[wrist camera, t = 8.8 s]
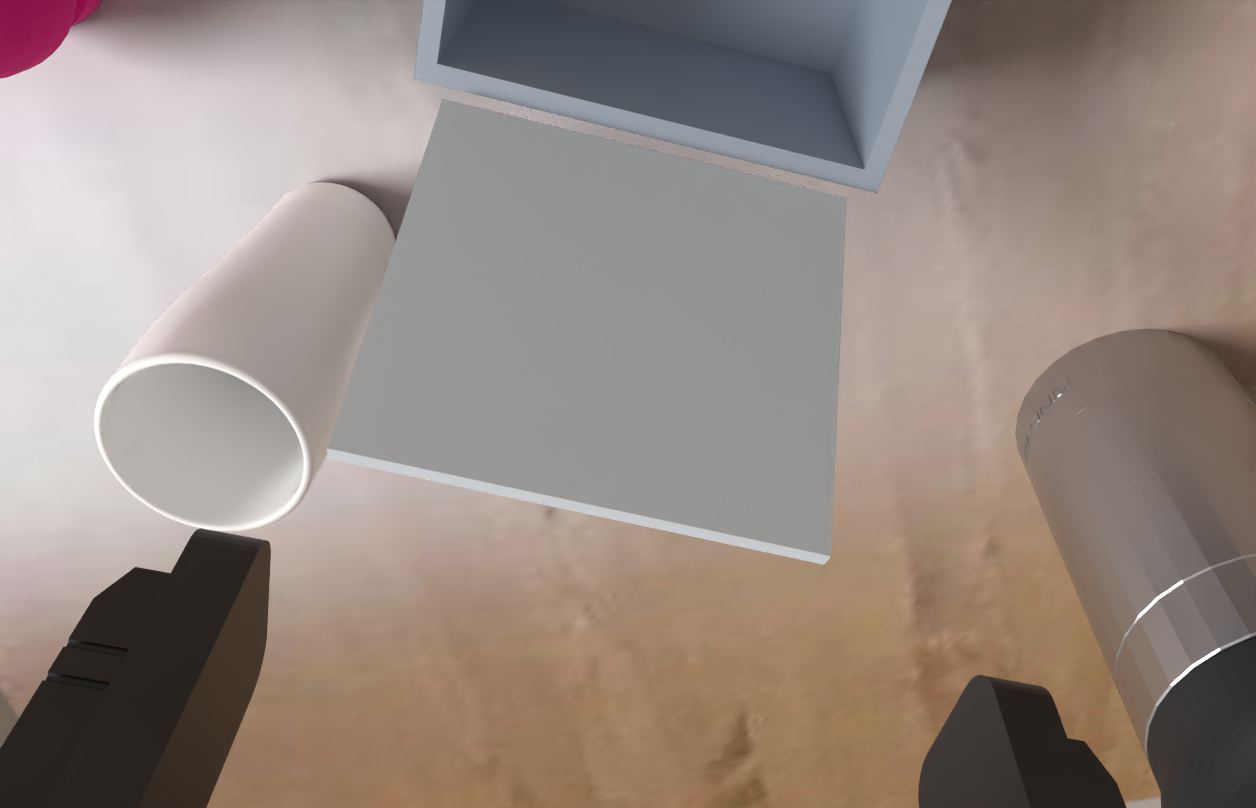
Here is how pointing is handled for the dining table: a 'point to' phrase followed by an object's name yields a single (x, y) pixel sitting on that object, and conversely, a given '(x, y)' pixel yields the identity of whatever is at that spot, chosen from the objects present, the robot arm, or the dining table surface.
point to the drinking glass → (249, 366)
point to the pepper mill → (36, 30)
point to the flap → (608, 336)
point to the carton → (702, 71)
